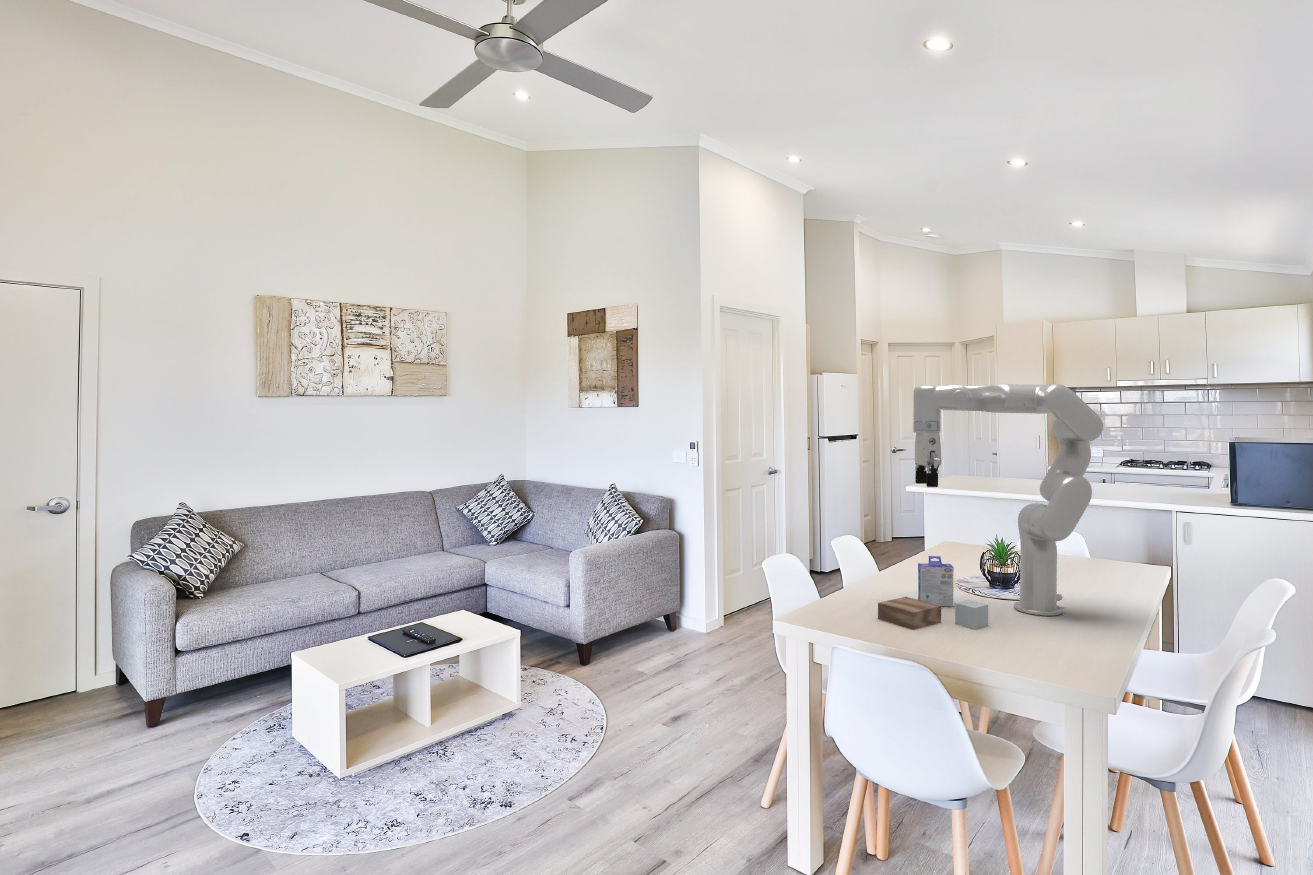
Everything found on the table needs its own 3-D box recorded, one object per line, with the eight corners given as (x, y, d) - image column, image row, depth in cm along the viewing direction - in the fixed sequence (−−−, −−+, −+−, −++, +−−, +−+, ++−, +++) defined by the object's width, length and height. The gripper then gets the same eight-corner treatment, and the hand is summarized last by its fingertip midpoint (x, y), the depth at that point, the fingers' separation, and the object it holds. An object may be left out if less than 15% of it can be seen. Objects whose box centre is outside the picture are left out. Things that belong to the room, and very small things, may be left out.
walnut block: (905, 613, 207) (905, 596, 207) (941, 623, 197) (941, 605, 197) (877, 620, 201) (877, 602, 200) (913, 630, 190) (913, 612, 190)
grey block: (968, 620, 198) (968, 599, 198) (988, 626, 193) (988, 604, 193) (955, 624, 195) (955, 602, 195) (974, 629, 190) (975, 607, 190)
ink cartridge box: (950, 602, 217) (951, 555, 217) (954, 607, 212) (954, 559, 211) (917, 600, 219) (917, 554, 219) (920, 605, 214) (920, 558, 213)
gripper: (950, 428, 199) (950, 488, 199) (929, 426, 216) (929, 482, 216) (923, 428, 199) (923, 488, 200) (904, 427, 216) (904, 482, 217)
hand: (926, 485), depth 208 cm, fingers open, 9 cm apart
